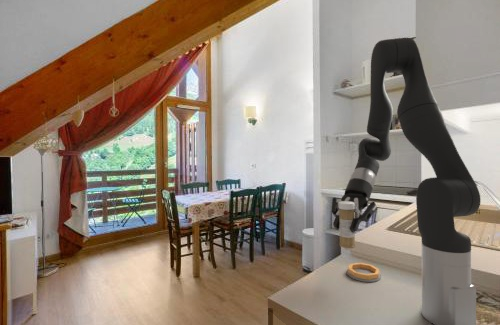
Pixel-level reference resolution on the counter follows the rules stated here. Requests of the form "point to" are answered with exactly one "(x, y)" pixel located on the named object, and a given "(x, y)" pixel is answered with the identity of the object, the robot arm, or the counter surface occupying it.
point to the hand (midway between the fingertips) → (344, 229)
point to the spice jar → (346, 224)
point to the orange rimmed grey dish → (364, 272)
